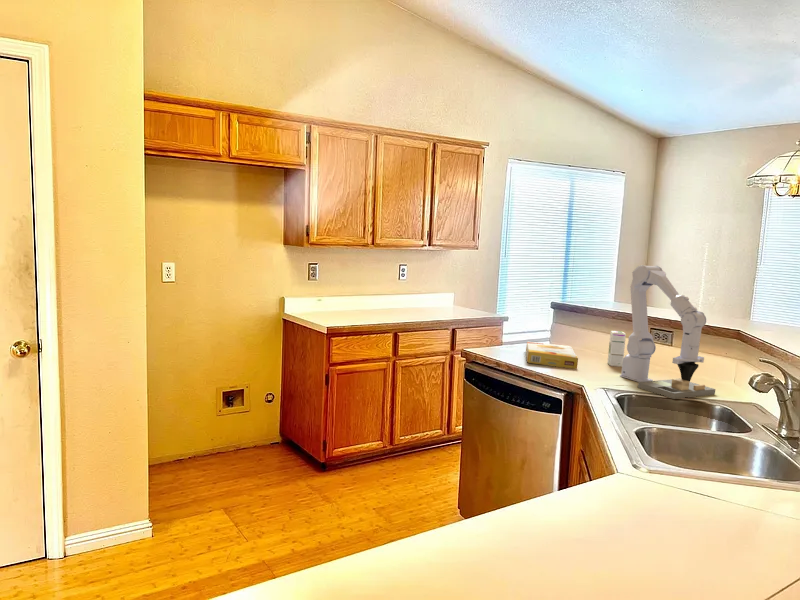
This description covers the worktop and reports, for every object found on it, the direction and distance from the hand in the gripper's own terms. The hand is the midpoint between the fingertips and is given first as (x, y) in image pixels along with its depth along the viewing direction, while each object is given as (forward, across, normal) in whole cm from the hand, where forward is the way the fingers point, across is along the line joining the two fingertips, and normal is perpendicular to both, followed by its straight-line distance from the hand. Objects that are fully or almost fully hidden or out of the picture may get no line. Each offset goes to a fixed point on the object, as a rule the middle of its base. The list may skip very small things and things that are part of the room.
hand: (685, 382), depth 211 cm
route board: (+4, 0, +3) cm, 5 cm away
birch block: (+2, -3, 0) cm, 4 cm away
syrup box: (+4, +12, +42) cm, 44 cm away
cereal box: (+5, -12, +57) cm, 58 cm away
